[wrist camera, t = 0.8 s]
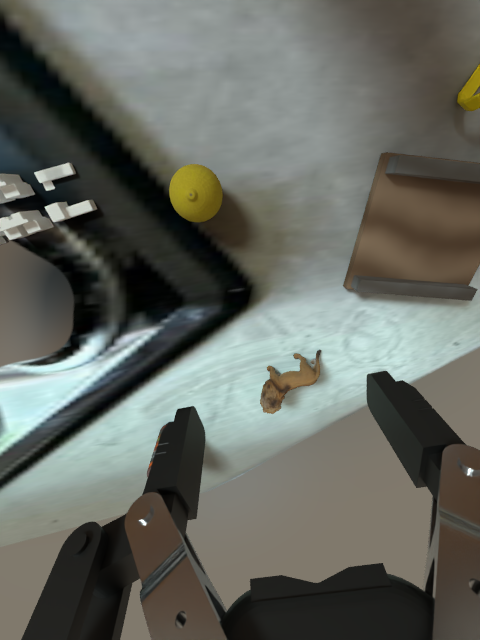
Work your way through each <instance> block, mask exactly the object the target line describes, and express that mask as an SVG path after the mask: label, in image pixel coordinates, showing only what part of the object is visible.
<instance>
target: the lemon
mask: <svg viewBox="0 0 480 640" xmlns="http://www.w3.org/2000/svg"><path fill="white" fill-rule="evenodd" d="M169 192H170V199H171V203H172V205H173V207H174V209H175V210H176V211H177V212H178V214H179V215H181V216H182V217H183V218H185V219H187V220H189V221H192V222H204V221H207V220H209V219H211V218H212V217H213V216H214V215H216V213H217V212H218V210H219V209H220V206H221V204H222V197H223V194H222V187H221V184H220V181H219V180H218V178H217V176H216V175H215V174H214V173H213V172H212V171H211V170H210V169H208V168H207V167H205V166H202V165H198V164H190V165H187V166H184V167H182V168H181V169H179V170H178V171H177V172H176V173H175V175H174V176H173V178H172V180H171V182H170V188H169Z"/></svg>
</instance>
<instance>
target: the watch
mask: <svg viewBox="0 0 480 640" xmlns="http://www.w3.org/2000/svg"><path fill="white" fill-rule="evenodd" d="M479 86H480V64H479V66H478V67H477V69H476V70H475V71H474V73H473V74H472V76H471V77H470V79H469V80H468V81H467V83H466V84H465V86H464V87H463V89H462V90H461V91H460V92H459V93H458V100H457V102H458V104H459V105H460V106H462V107H463V108H464V109H465V110H467V111H474V110H476V109H479V108H480V93H478V94H476V95H474V93H475V92H476V90H477V89H478V88H479ZM473 95H474V96H473ZM472 96H473V97H472Z"/></svg>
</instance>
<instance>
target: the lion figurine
mask: <svg viewBox="0 0 480 640" xmlns="http://www.w3.org/2000/svg"><path fill="white" fill-rule="evenodd" d="M320 352H321V350H319V351H317V353H316V359H312V360H311V364H314V366H313V367H312V368H311V367H310V366H309V365H308V364H307V363H306V359H305V358H304V357H302V356H301V355H300V354H297V353H296V354H294V355H293V356H294V358H295V359H300V360H301V362H300V371H289V372H285V373H283V374H280V373H277V374H276V373H275V369H274V368H273V367H272V366H268V367H267V370H268V371H270V379H269V380H267V381H266V382H265V384H264V385H263V389H262V393H261V400H260V404H261V406H262V407H263V412H264V413H265V412H267V413H272V414H273V413H275V412H276V411H279V410H280V409H281V403H282V400H283V399H284V397H285V396H284V395H285V394H286V393H287V392H288V391H290V390H292V389H295V388H297V387H300V386H309V385H312V384H314V383H315V382H316V381H317V379H318V377H319V375H320V364H319V355H320Z"/></svg>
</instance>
